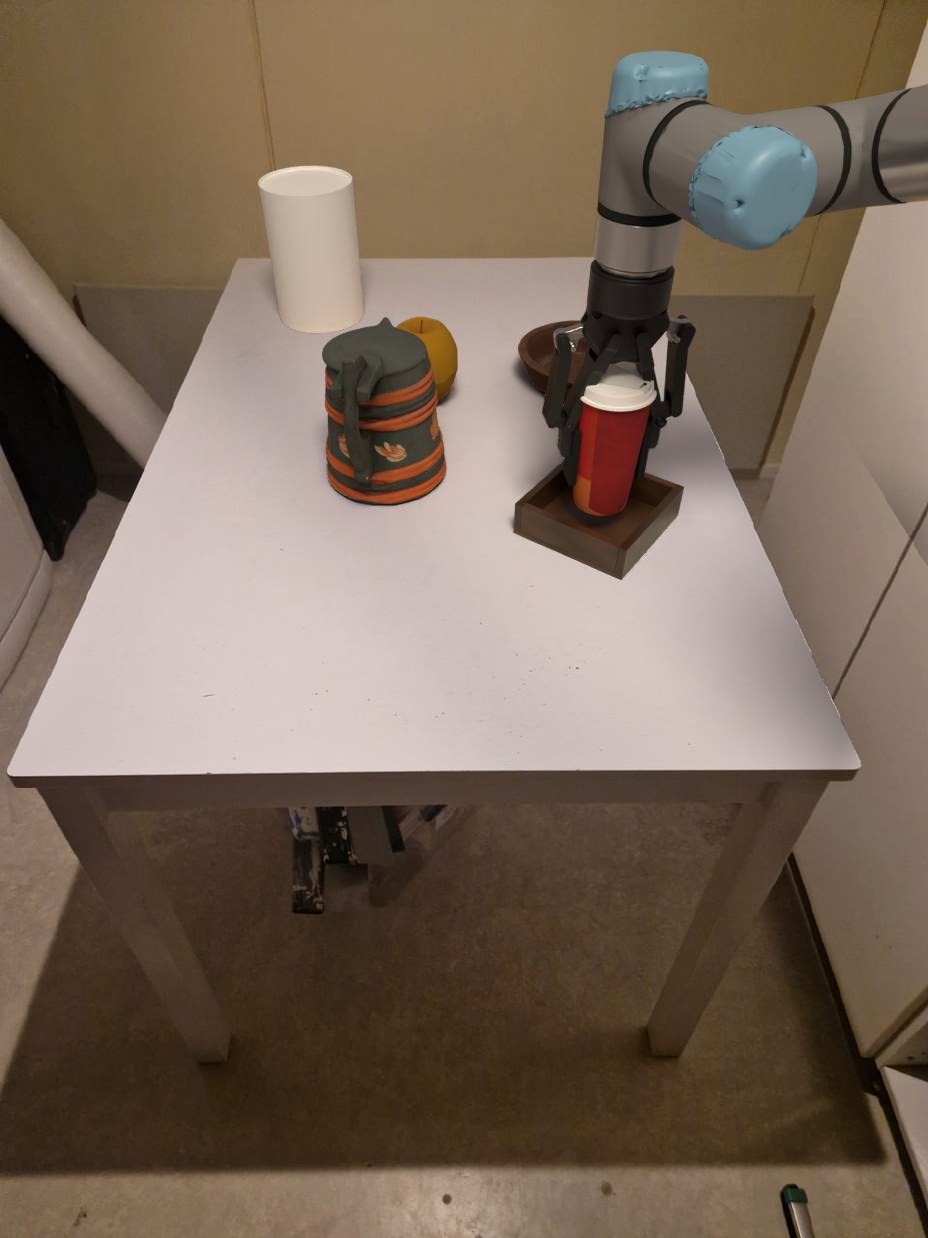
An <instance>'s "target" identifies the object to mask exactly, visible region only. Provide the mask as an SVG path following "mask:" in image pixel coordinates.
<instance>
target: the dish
mask: <svg viewBox="0 0 928 1238" xmlns="http://www.w3.org/2000/svg"><path fill="white" fill-rule="evenodd" d="M580 320H581V319H579V320H574V319H573V320H572V319H571V320H563V321H562V320H561V321H556V322H550V323H547V324H544V325H540V326H538V327H535V328H533V329H531V330H530V331H528V332H527V333H525V334H524V335H523V336H522V337H521V339H520V341H519V343H518V345H517V351H518V355H519V357H520V358H521V360H522V362H523V366H524V369H525V372H526V375H527V376H528V378H529V380H530V382H531V384H532V385H533V386H534V387H535V388H537V389H539V391H541V392H543V393H546V388H547V383H548V377H549V372H550V367H551V362H552V357H553V352H554V344H553V338H552V332H551V331H552V328H553V327H554V326H555V325H558V324H560V325H562V326H563V328H566V327H569V326H572V325H575V324H579V323H580ZM588 347H589V343H588V342H587V340H586V339H585V337H582V338H581V339H580V340H579V341H578V346H577V348H576V350H575V351H574V352H572V363H571V369H570V373H569V378H568V383H567V387H566V392H565V397H564V400H566V398H567V396H568V394H569V392H570V390H571V388H572V385H573V383H574V381H575V379H576V377H577V375H578V373H579V371H580V369H581V367H582V364H583V362H584V358H585V353H586V351H587V349H588ZM632 363H635V362H632Z"/></svg>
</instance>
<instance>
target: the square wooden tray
mask: <svg viewBox="0 0 928 1238" xmlns="http://www.w3.org/2000/svg"><path fill="white" fill-rule="evenodd" d="M563 468H564V459H563V460H562V461H561V462H560V463H559V464H558V465H556V466H555V467H554V468H553V469H552V470H551V471H550V472H548V474H546V475H545V476H544V477H543V478H542V479H541V480H539V482H538V483H536V484H535V485H534V486H533V487H532V488H531V489H529V490H528V491H527V492H526V493H525V494H524V495H523V496H521V498H519V499H518V500H517V501H516V502H515V503H514V516H513V517H514V518H513V533H514V534H516V535H518V536H520V537H523V538H525V539H526V540H529V541H531V542H534V543H535V544H538V545H541V546H543V547H545V548H548V549H550V550H552V551H554V552H557V553H559V554H561V555H564V556H566V557H568V558H570V559H573V560H575V561H577V562H579V563H581V564H583V565H586V566H589V567H591V568H592V569H595V570H597V571H600V572H603V573H604V574H606V575H609V576H611V577H613V578H615V579H618V580H621V581H622V580H623V579H624V578H625V577H626V576H627V575H628V573H629V572H630V571H631V570H632V568H634V566H635V565H636V564H637V563H638V562H639V561H640V560H641V559H642V558H643V556H644V555H645V554H646V552H648V550H649V549H650V548H651V547H652V546H654V544H655V542H656V541H658V539H659V538H660V537H661V536H662V534H663V533H664V532H665V531H666V530H667V529H668V527H669V526H671V524H672V523H673V522H674V521H675V520H676V518H677V517H678V516H679V513H680V509H681V503H682V500H683V494H684V490H685V486H683V485H681V484H679V483H678V484H677V483H675V482H673V481H670V480H667V479H664V478H663V477H659V476H657V475H655V474H651V473H648V472H646V471H645V474H644V479H638V480H637V479H636V477H635V475H634V477H633V481H632V485H631V489H630V492H629V496H628V500H627V503H626V505H625V507H624V509H623V510H621V511H620V512H618V513H616V514H613V515H608V516H598V515H592V514H589V513H586V512H584V511H582V510H581V509H579V508H578V507H577V506H576V504H575V502H574V499H573V486H569V485H568V482H567V480H566V478H565V475H564V473H563Z"/></svg>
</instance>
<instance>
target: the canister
mask: <svg viewBox="0 0 928 1238" xmlns="http://www.w3.org/2000/svg"><path fill="white" fill-rule="evenodd" d="M257 184H258V190H259V197H260V202H261V209H262V210H261V211H262V214H263V220H264V226H265V227H264V228H265V233H266V239H267V245H268V251H269V252H268V253H269V257H270V263H271V270H272V277H273V282H274V288H275V289H274V290H275V294H276V301H277V307H278V313H279V318H280V321H281V323H282V325H284V326H285V327H287V328H288V329H291V330H293V331H296V332H300V333H305V334H328V333H335V332H339V331H344V330H346V329H349V328H351V327H354V326H355V325H356V324H358V323H360V322H361V320H363V318H364V316H365V304H364V292H363V282H362V281H363V280H362V270H361V260H360V248H359V238H358V237H359V236H358V227H357V226H358V225H357V214H356V213H357V212H356V203H355V202H356V201H355V192H354V182H353V176H352V175H351V174H350V172H348V171H346V170H344V169H341V168H338V167H333V166H332V167H331V166H325V165H299V166H290V167H285V168H280V169H276V170H273V171H269V172H268V173H266V174H264V175H262V176H261V177H260V178H259V179H258V182H257Z"/></svg>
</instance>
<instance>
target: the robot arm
mask: <svg viewBox="0 0 928 1238" xmlns="http://www.w3.org/2000/svg"><path fill="white" fill-rule="evenodd" d="M610 81H611V82H610V89H609V93H608V94H609V95H608V102H607V108H606V110H604V114H603V115H604V116H603V118H604V126H603V128H604V129H603V138H602V150H601V161H600V168H599V169H600V171H599V181H598V190H597V191H598V192H597V206H596V214H595V224H594V230H593V231H594V233H593V241H592V251H591V255H592V257H593V260H592V261H591V263H590V269H589V278H588V286H587V294H586V306H585V311H584V313H583V315H582V317H581V318H580V319H579V320H580V323H579V324H575V325H572V326H569V327H566V328H563V326H562V325H560V324H558V325H555V326H554V327H553V328H552V331H551V332H552V338H553V344H554V352H553V357H552V362H551V367H550V372H549V377H548V383H547V388H546V392H544V399H543V403H542V409H541V414H542V417H543V419H544V421H545V424H546V425H547V428H548V429H550V430H553V429H557V430H558V431H557V442H556V448H557V450H558V452H559V454H560V456H561V458H564V459H563V460H564V468H563V473H564V475H565V478H566V480H567V482H568V485H569V486H576V481H577V472H578V464H579V455H580V446H581V438H582V432H581V431H580V430H579V429H578V427H577V424H578V422H579V420H580V418H581V416H582V414H583V401H582V400H580V399H581V397H583V396H584V393H585V390H586V387H587V386H592V385H597V384H598V382H599V380H600V378H601V376H602V375H604V374H605V373H606V371H607V369H608V367H609V365H610V364H616V363H619V362H622V361H625V362H630V363H631V362H635V364H636V368H637V370H638V372H639V374H640V375H641V377H642V378H643V380H644V381H649V382H651V380H653V381H654V390H656V392H657V395H656V398H655V400H654V401H653V402H652V403H651V407H650V412H649V416H648V421H647V425H646V429H645V433H644V437H643V440H642V444H641V448H640V452H639V456H638V460H637V464H636V468H635V473H634V475H635V477H636V479H637V480H638V479H644V474H645V472H646V469H647V462H648V458H649V452H650V449H656V447H657V446H658V445H659V439H660V434H661V429H664V428H665V427H666V426H667V425H668V420H667V419H669V418H671V417H672V418H679V417H680V416H682V414H683V411H684V399H685V390H686V389H685V388H686V379H687V378H686V376H687V367H688V366H687V365H688V355H689V348H690V346H691V344H692V342H693V339H694V337H695V334H696V332H697V328H696V327H695V326H694V324H693V322H692V321H690V320H689V318H688V317H687V316H686V315H685V314H680V315H678V316H677V317H671V316H669V313H668V307H669V305H670V301H671V296H672V288H673V285H674V277H675V271H676V270H675V267H674V265H675V263H677V261H678V258H679V257H678V256H679V252H680V244H681V238H682V233H683V226H684V221H686V222H687V223H689V224H690V225H692V226H694V227H696V228H697V229H698V230H701V231H702V232H703V233H704V234H705V235H706V236H708V237H710V238H711V239H712V240H718V242H720V243H723V244H727V245H728V244H729V245H731V246H733V247H736V248H737V249H741V250H744V251H755V252H756V251H763V250H766V249H769V248H772V247H773V246H775V245H777V244H778V242H779V241H780V240H781V239H782V238H783V237H785V236H788V235H791V233H792V232H794V231H795V229H796V228H797V227H799V225H800V224H801V222H802V220H803V219H805V218H812V217H816V216H819V215H826V214H831V213H835V212H836V213H837V212H843V211H851V210H857V209H862V208H863V209H864V208H871V207H883V206H884V207H885V206H895V205H903V204H908V203H917V202H928V83H926V84H922V85H918V86H914V87H907V88H903V89H898V90H894V91H890V92H885V93H880V94H877V95H872V96H866V97H862V98H856V99H851V100H844V101H838V102H833V103H827V104H816V105H810V106H803V107H795V108H788V109H780V110H773V111H772V110H771V111H767V112H766V111H765V112H760V113H752V114H751V113H750V114H741V113H735V112H733V111H730V110H727V109H723V108H721V107H718V106H716V105H714V104H712V103H710V102H708V101H707V99H708V95H709V93H710V91H709V81H710V68H709V65H708V64H707V62H706V61H705V59H703V58H702V57H700V56H698V55H695V54H692V53H687V52H683V51H682V52H681V51H672V50H671V51H669V50H647V51H640V52H634V53H631V54H627V55H625V56H624V57H622V58H621V59H620V60H618V62H617V63H616V64H615V66H614V68H613V70H612V75H611V80H610ZM664 334H665V335H666V337H667V345H666V359H665V373H664V387H663V389H664V390H663V400H662V398H661V394H660V393H661V392H660V389H659V384H658V380H657V374H656V370H655V360H654V355H653V352H652V349H653V347H654V346H655V345H656V344H657V343H658V342H659V340H660V339H662V337H663V336H664ZM582 337H585V339H586V340H587V342H588V343H589V347H588V349H587V351H586V353H585V358H584V362H583V364H582V367H581V369H580V371H579V373H578V375H577V377H576V379H575V381H574V383H573V385H572V388H571V390H570V392H569V394H568V396H567V398H566V399H564V397H565V392H566V387H567V383H568V378H569V373H570V369H571V363H572V352H574V351H575V350H576V348H577V346H578V341H579V340H580V339H581V338H582ZM644 385H645V386H646V385H647V383H645V382H644Z"/></svg>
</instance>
